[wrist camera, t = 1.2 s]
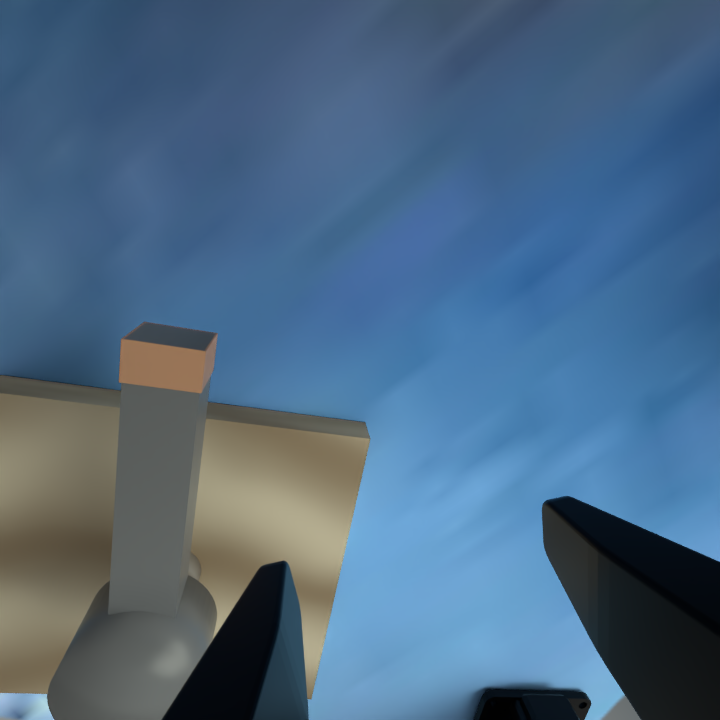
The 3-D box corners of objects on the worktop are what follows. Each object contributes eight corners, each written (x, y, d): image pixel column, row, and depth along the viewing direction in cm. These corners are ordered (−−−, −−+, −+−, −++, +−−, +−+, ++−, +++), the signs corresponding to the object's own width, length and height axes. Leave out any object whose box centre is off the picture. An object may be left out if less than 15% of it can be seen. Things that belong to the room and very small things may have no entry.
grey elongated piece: (210, 664, 18) (194, 749, 15) (88, 660, 17) (46, 749, 14) (256, 338, 14) (246, 371, 12) (102, 314, 14) (51, 343, 11)
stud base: (310, 670, 24) (312, 744, 20) (6, 660, 21) (-47, 743, 18) (365, 422, 20) (378, 465, 17) (0, 375, 17) (-70, 414, 14)
